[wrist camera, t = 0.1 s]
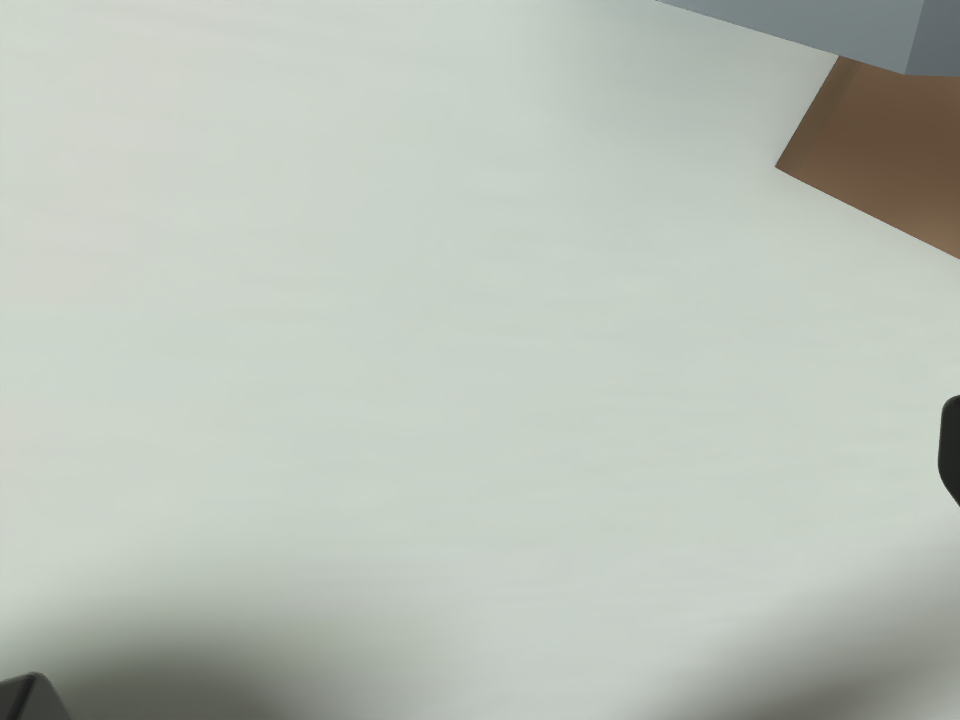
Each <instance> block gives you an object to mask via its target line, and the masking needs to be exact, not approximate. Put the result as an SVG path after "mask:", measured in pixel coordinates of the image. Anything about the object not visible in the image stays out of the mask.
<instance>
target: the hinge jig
mask: <svg viewBox="0 0 960 720" xmlns="http://www.w3.org/2000/svg"><path fill="white" fill-rule="evenodd" d="M775 167H776V168H778V169H779V170H781V171H783V172H785V173H787V174H789V175H790V176H792V177H794V178H796V179H798V180H800V181H802V182H804V183H806V184H808V185H810V186H812V187H814V188H816V189H818V190H820V191H822V192H824V193H826V194H828V195H830V196H832V197H834V198H837V199H839V200H841V201H843V202H845V203H847V204H849V205H851V206H853V207H855V208H857V209H859V210H861V211H863V212H865V213H867V214H869V215H871V216H873V217H875V218H877V219H879V220H881V221H883V222H885V223H887V224H889V225H891V226H893V227H895V228H897V229H899V230H901V231H903V232H905V233H907V234H909V235H911V236H913V237H915V238H917V239H919V240H922V241H924V242H926V243H928V244H930V245H932V246H934V247H936V248H938V249H940V250H942V251H944V252H946V253H948V254H950V255H952V256H954V257H956V258H958V259H960V77H955V76H925V75H903V74H900V73H897V72H893V71H890V70H887V69H883V68H880V67H877V66H873V65H870V64H867V63H863V62H860V61H857V60H853V59H850V58H847V57H843V56H839V58H838V60H837V61H836V63H835V65H834V67H833V68H832V70H831V72H830V73H829V75H828V77H827V79H826V80H825V82H824V84H823V85H822V87H821V89H820V90H819V92H818V94H817V96H816V97H815V99H814V101H813V102H812V104H811V106H810V108H809V109H808V111H807V113H806V114H805V116H804V118H803V120H802V121H801V123H800V125H799V126H798V128H797V130H796V132H795V133H794V135H793V137H792V138H791V140H790V142H789V143H788V145H787V147H786V149H785V150H784V152H783V154H782V155H781V157H780V159H779V161H778V162H777V164H776V166H775Z"/></svg>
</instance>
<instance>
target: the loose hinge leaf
mask: <svg viewBox="0 0 960 720" xmlns="http://www.w3.org/2000/svg"><path fill="white" fill-rule="evenodd" d="M656 1H660V2H663V3H666V4H670V5H673V6H676V7H680V8H683V9H686V10H690V11H693V12H696V13H700V14H703V15H706V16H710V17H713V18H716V19H720V20H723V21H726V22H730V23H733V24H736V25H740V26H743V27H746V28H750V29H753V30H756V31H760V32H763V33H766V34H770V35H773V36H776V37H780V38H783V39H786V40H790V41H793V42H797V43H800V44H803V45H807V46H810V47H813V48H817V49H820V50H823V51H827V52H830V53H833V54H837V55H840V56H843V57H847V58H850V59H853V60H857V61H860V62H863V63H867V64H870V65H873V66H877V67H880V68H883V69H887V70H890V71H893V72H897V73H900V74H903V75H925V76H955V77H960V0H656Z"/></svg>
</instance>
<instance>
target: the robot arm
mask: <svg viewBox="0 0 960 720" xmlns="http://www.w3.org/2000/svg"><path fill="white" fill-rule="evenodd" d="M938 469H939V474H940V477H941V479H942V481H943V483H944V485H945V487H946V489H947V490H948V491H949V493H950V494H951V496H952V497H953V498H954V500H955V501H956V502H957V504H958V505H959V507H960V395H958V396H954V397H952V398H950V399H949V400H947V401H946V403H945V404H944V406H943V408H942V415H941V427H940V439H939V451H938ZM0 720H74V719H73V718H72V716H71V715H70V713H69V711H68V710H67V708H66V706H65V705H64V703H63V702H62V700H61V698H60V697H59V695H58V694H57V692H56V690H55V689H54V687H53V685H52V684H51V682H50V681H49V680H48V678H47V677H46V676H45V675H43V674H42V673H39V672H30V673H26V674H23V675H20V676H16V677H13V678H10V679H6V680H3V681H0Z"/></svg>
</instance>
